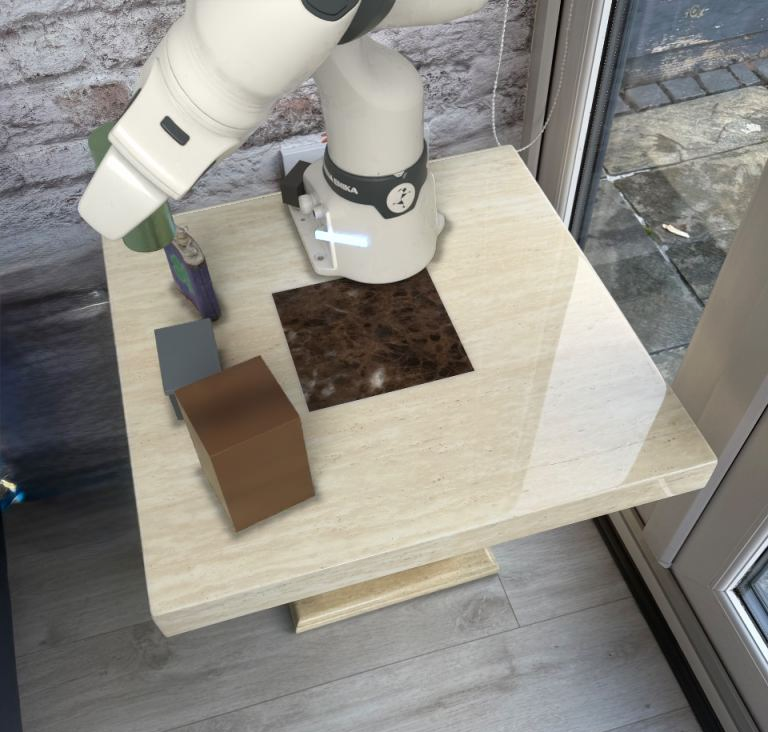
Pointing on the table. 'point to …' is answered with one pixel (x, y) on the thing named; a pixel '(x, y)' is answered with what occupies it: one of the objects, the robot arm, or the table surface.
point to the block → (247, 441)
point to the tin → (154, 228)
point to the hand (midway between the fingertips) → (127, 184)
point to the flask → (192, 274)
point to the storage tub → (186, 356)
